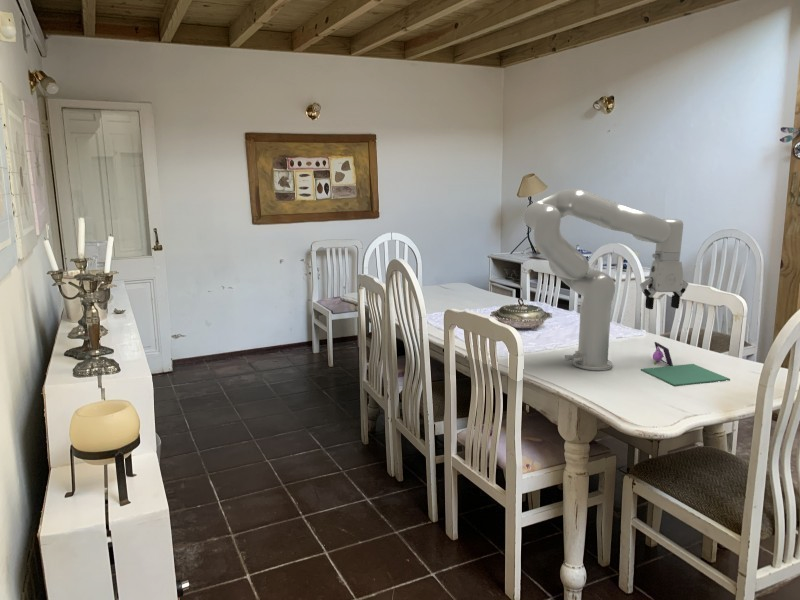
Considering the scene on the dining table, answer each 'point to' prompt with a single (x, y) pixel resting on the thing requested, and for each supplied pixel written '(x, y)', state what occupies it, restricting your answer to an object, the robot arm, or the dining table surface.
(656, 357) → the black open frame
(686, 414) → the dining table surface
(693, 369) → the mat
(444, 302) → the dining table surface
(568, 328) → the dining table surface
